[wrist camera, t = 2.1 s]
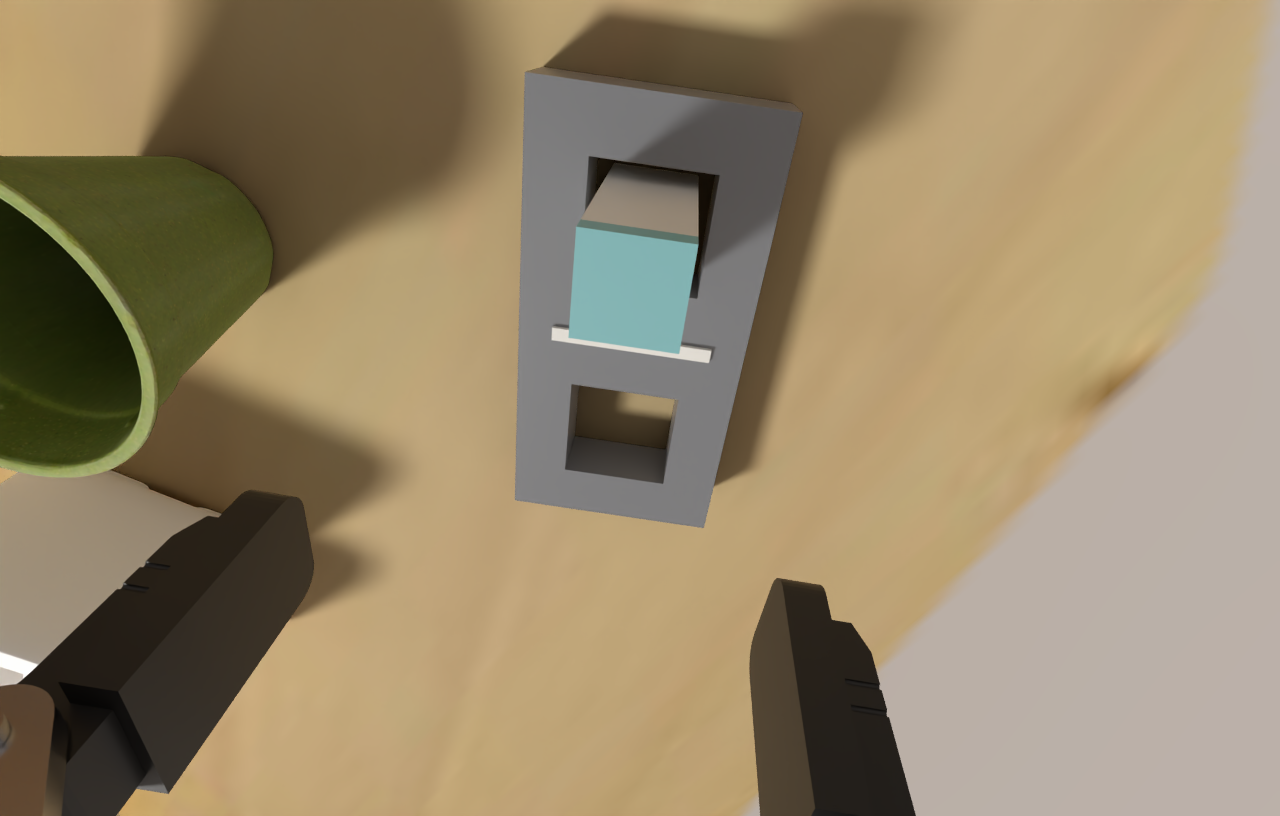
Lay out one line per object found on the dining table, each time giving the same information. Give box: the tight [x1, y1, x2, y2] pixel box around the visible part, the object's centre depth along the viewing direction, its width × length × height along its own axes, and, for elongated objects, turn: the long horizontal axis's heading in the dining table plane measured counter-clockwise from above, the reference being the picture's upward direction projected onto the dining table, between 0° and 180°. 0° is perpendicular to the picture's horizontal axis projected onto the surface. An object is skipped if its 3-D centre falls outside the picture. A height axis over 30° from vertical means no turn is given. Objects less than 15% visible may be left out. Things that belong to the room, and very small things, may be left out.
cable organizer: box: [0, 470, 221, 686], centre depth 36 cm, size 15×11×12 cm
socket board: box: [515, 67, 803, 528], centre depth 29 cm, size 20×10×3 cm, turn 173°
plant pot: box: [0, 156, 273, 478], centre depth 25 cm, size 12×12×11 cm
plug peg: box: [568, 163, 698, 354], centre depth 23 cm, size 4×4×10 cm
